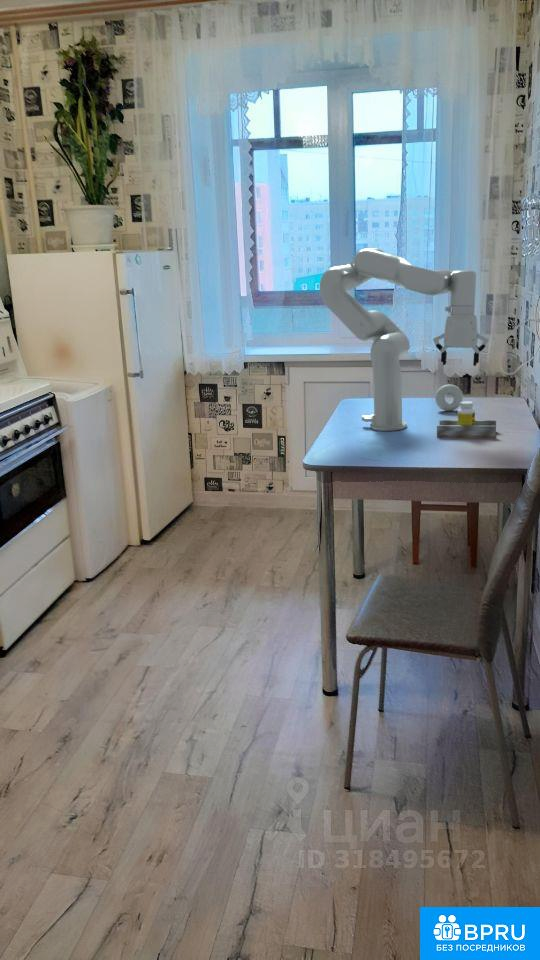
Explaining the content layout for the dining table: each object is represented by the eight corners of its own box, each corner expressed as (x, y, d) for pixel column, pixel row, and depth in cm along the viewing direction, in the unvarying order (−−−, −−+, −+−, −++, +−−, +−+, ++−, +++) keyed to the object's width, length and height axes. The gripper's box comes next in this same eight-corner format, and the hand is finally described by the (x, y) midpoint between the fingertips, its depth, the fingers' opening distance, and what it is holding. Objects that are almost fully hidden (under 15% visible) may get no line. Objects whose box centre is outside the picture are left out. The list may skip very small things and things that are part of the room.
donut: (462, 409, 286) (462, 382, 283) (463, 411, 283) (463, 384, 280) (434, 410, 288) (434, 384, 285) (435, 412, 284) (435, 385, 282)
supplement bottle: (475, 433, 247) (475, 403, 244) (457, 434, 248) (457, 404, 245) (474, 429, 252) (474, 400, 249) (457, 430, 253) (457, 400, 250)
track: (436, 437, 249) (436, 425, 248) (439, 430, 257) (439, 419, 256) (494, 438, 243) (495, 426, 242) (495, 431, 251) (496, 420, 250)
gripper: (432, 311, 242) (430, 366, 248) (489, 312, 237) (486, 367, 242) (436, 309, 249) (434, 362, 254) (491, 309, 243) (488, 363, 249)
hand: (459, 364), depth 248 cm, fingers open, 9 cm apart
